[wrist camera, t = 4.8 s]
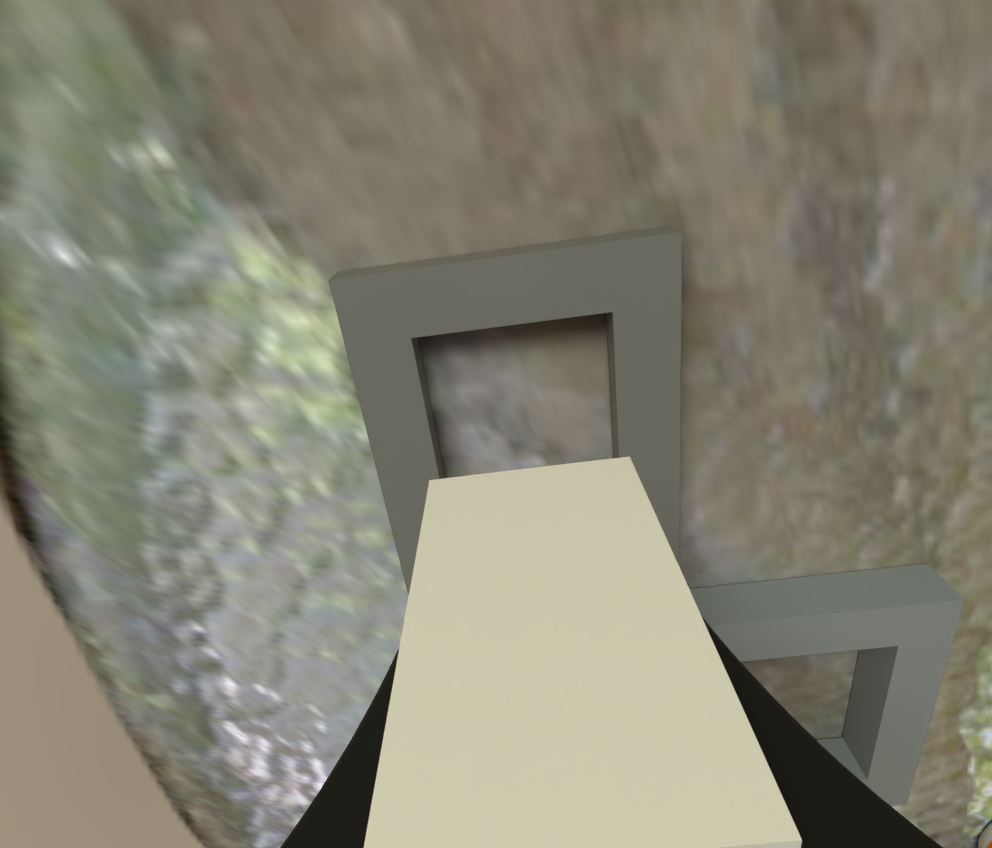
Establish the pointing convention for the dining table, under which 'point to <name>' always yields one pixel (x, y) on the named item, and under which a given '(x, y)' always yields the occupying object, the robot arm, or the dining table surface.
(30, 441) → the dining table surface
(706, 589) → the port
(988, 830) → the pill bottle
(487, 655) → the plug
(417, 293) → the square frame plate
